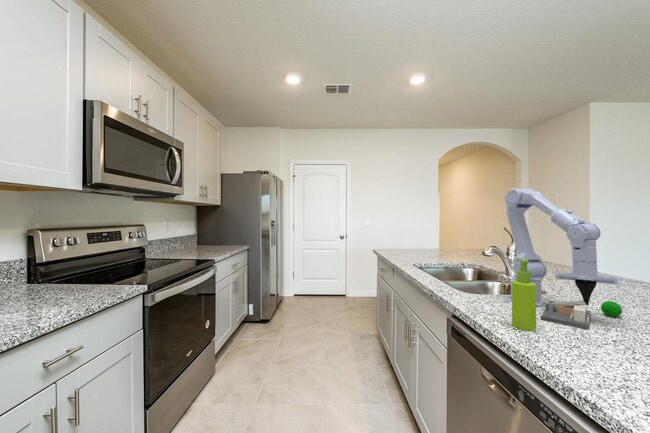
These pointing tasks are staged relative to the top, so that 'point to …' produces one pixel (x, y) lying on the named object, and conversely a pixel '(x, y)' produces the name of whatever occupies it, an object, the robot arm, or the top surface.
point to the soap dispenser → (524, 299)
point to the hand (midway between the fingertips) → (586, 304)
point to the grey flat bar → (568, 303)
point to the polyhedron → (611, 309)
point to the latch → (580, 314)
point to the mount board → (563, 315)
